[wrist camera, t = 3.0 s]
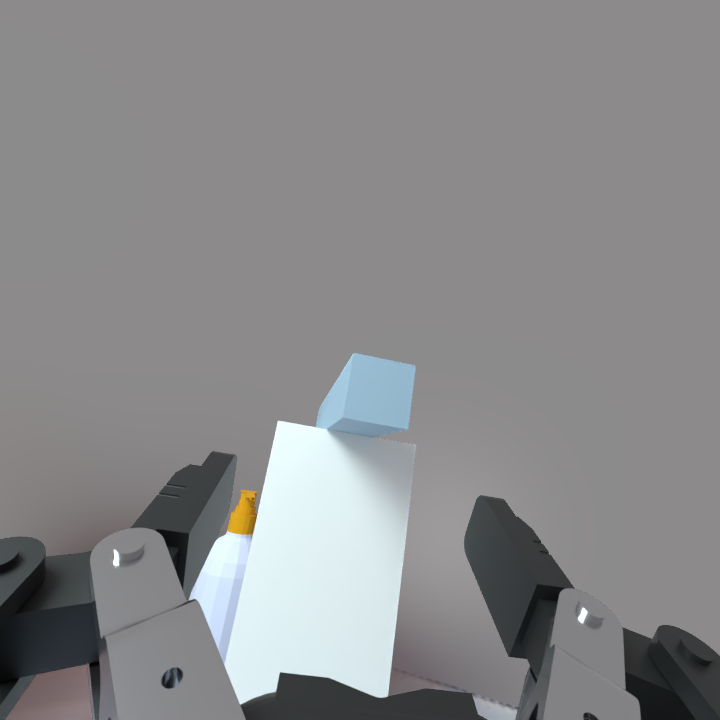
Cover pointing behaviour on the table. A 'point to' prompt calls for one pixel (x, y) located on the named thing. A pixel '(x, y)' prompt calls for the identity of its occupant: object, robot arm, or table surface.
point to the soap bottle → (226, 572)
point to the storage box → (323, 563)
